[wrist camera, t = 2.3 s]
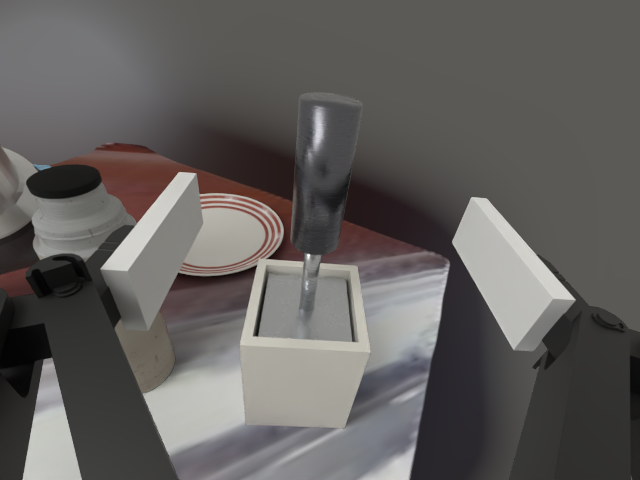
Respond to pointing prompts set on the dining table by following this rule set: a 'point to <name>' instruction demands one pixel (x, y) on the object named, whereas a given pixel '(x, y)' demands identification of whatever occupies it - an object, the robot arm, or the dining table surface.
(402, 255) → the dining table surface
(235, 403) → the dining table surface
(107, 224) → the thermos bottle
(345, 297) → the plunger
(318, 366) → the white open box
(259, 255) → the dinner plate
